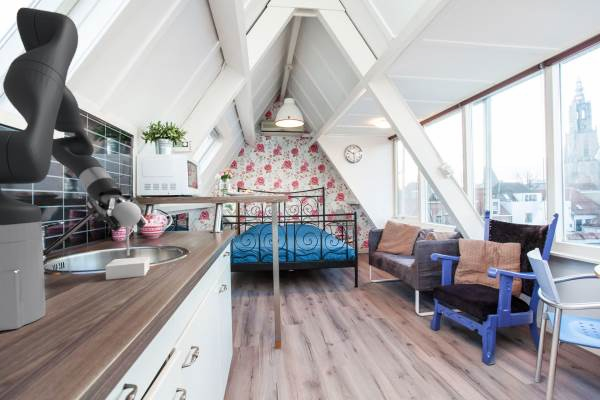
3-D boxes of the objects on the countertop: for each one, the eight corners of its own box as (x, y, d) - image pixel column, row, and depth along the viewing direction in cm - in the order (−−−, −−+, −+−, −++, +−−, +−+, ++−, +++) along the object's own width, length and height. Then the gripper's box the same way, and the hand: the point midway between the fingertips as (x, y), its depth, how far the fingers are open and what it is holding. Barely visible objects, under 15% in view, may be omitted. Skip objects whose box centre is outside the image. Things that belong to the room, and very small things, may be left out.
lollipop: (117, 253, 87) (115, 201, 86) (144, 252, 89) (143, 200, 88) (109, 259, 80) (107, 202, 79) (139, 256, 82) (137, 201, 82)
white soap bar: (144, 275, 81) (144, 263, 81) (106, 279, 79) (105, 266, 78) (149, 268, 90) (149, 256, 90) (114, 271, 87) (114, 259, 87)
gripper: (80, 175, 80) (113, 220, 76) (128, 177, 93) (159, 216, 89) (68, 196, 82) (99, 240, 78) (117, 195, 95) (146, 233, 91)
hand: (131, 227), depth 84 cm, fingers closed on lollipop, 7 cm apart
